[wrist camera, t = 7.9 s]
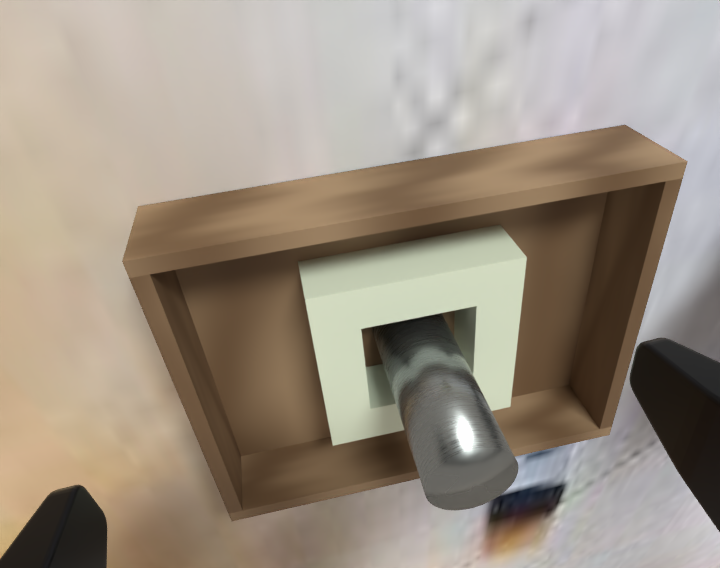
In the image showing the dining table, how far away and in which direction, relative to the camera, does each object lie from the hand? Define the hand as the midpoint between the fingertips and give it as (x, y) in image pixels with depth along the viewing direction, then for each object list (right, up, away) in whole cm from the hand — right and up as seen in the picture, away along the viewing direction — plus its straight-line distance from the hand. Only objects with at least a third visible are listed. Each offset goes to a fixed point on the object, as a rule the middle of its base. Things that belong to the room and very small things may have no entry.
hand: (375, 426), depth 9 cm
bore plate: (+2, +1, +15) cm, 15 cm away
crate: (+2, +1, +15) cm, 15 cm away
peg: (+2, +1, +15) cm, 15 cm away
